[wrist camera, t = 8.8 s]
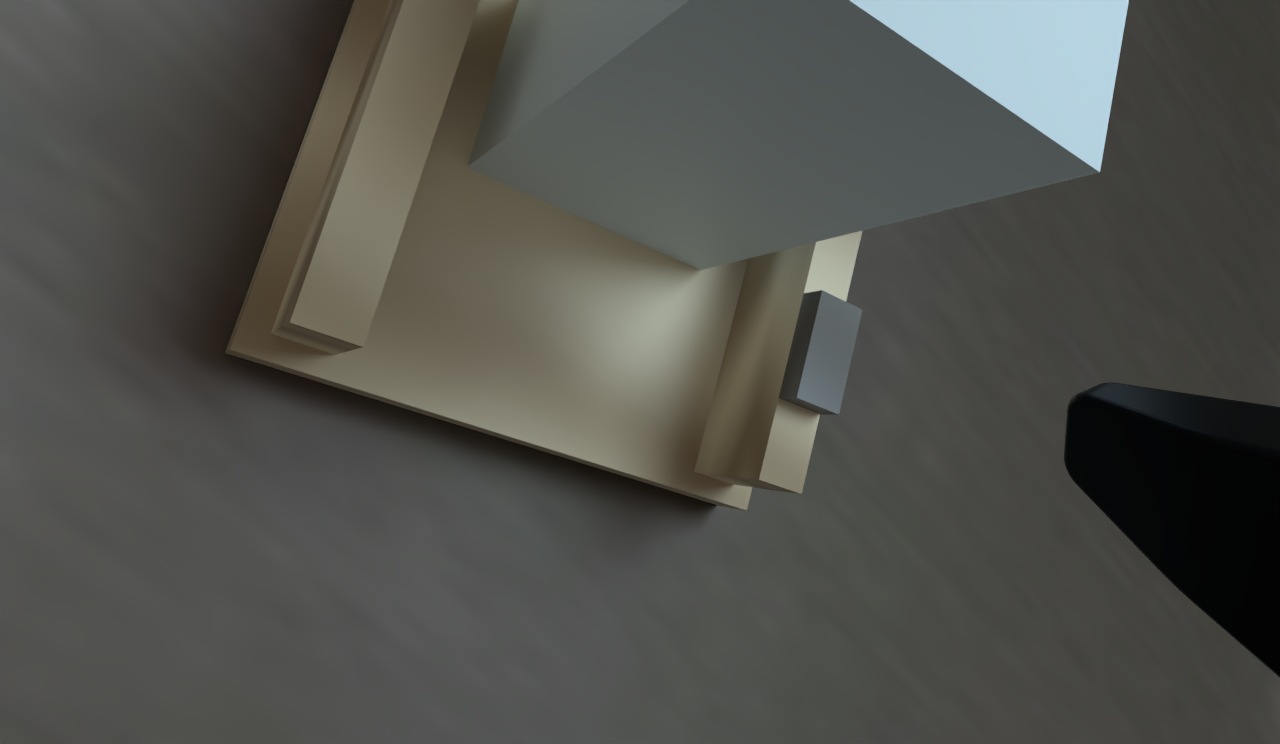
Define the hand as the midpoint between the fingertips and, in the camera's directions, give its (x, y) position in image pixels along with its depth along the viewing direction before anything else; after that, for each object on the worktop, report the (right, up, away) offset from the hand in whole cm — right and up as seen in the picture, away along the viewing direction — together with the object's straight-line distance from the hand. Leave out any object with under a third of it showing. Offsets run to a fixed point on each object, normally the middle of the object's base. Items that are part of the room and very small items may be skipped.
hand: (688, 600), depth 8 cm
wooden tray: (-2, +7, +13) cm, 15 cm away
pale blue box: (-1, +7, +12) cm, 14 cm away
